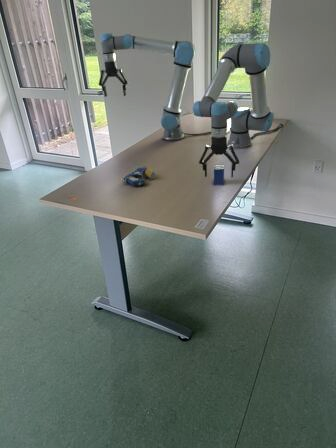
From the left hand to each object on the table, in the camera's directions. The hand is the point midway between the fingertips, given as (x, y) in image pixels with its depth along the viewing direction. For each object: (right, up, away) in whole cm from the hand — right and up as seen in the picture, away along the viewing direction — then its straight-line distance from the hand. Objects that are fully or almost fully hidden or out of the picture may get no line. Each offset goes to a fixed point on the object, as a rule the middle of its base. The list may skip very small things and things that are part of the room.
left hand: (115, 96), depth 224 cm
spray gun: (+20, -61, -37) cm, 74 cm away
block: (+62, -64, -48) cm, 102 cm away
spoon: (+84, -9, +38) cm, 93 cm away
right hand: (+62, -61, -50) cm, 101 cm away
